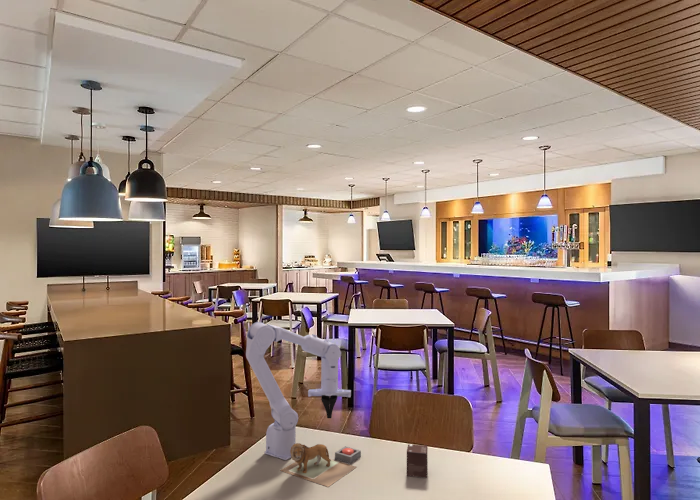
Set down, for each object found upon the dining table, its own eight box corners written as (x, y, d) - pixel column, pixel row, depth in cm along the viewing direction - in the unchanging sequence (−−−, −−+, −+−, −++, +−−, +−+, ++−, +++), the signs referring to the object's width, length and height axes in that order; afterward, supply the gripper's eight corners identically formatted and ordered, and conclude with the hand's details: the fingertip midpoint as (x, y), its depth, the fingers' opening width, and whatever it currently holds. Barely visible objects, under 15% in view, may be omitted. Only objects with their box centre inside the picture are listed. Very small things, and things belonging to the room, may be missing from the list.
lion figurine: (296, 479, 139) (296, 448, 139) (286, 472, 143) (286, 442, 143) (335, 464, 149) (335, 435, 149) (325, 458, 153) (325, 430, 153)
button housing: (334, 458, 153) (334, 452, 153) (345, 452, 158) (345, 446, 158) (350, 463, 150) (350, 457, 150) (360, 456, 155) (360, 450, 155)
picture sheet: (280, 470, 145) (280, 470, 145) (310, 453, 157) (310, 453, 157) (328, 487, 135) (328, 486, 135) (356, 467, 147) (356, 466, 147)
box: (426, 478, 140) (427, 453, 140) (406, 476, 141) (406, 451, 141) (427, 469, 146) (427, 445, 146) (407, 467, 147) (408, 443, 147)
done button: (340, 455, 153) (340, 451, 153) (346, 451, 156) (346, 447, 156) (349, 458, 151) (349, 453, 151) (355, 454, 154) (355, 449, 154)
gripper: (306, 380, 161) (306, 420, 161) (350, 381, 160) (349, 421, 160) (309, 375, 168) (309, 413, 168) (351, 375, 167) (351, 414, 167)
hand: (329, 417), depth 164 cm, fingers closed
